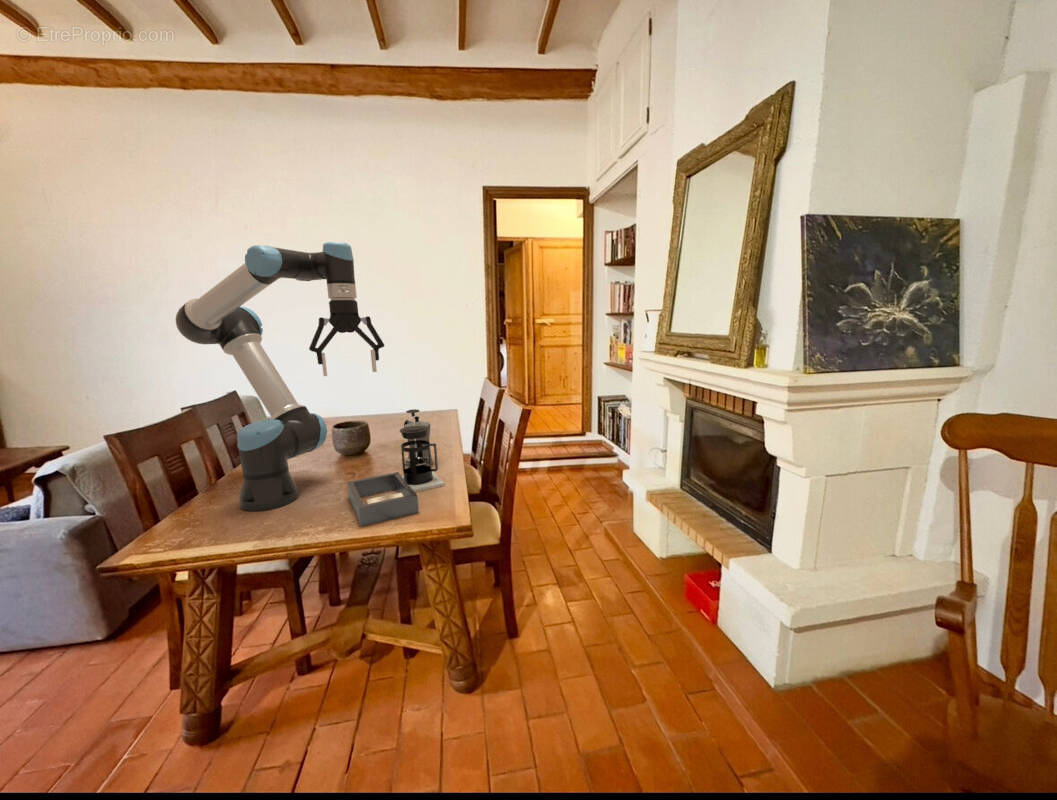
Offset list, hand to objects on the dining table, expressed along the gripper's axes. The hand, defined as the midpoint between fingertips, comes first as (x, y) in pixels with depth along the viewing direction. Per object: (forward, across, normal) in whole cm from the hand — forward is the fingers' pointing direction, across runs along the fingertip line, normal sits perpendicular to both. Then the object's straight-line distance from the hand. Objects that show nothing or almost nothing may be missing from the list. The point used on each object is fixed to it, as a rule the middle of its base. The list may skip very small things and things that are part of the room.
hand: (350, 373), depth 129 cm
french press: (+36, +17, -3) cm, 40 cm away
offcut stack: (+37, +3, -22) cm, 43 cm away
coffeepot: (+37, +22, +16) cm, 46 cm away
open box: (+37, +3, -14) cm, 39 cm away
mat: (+37, +18, -3) cm, 41 cm away
